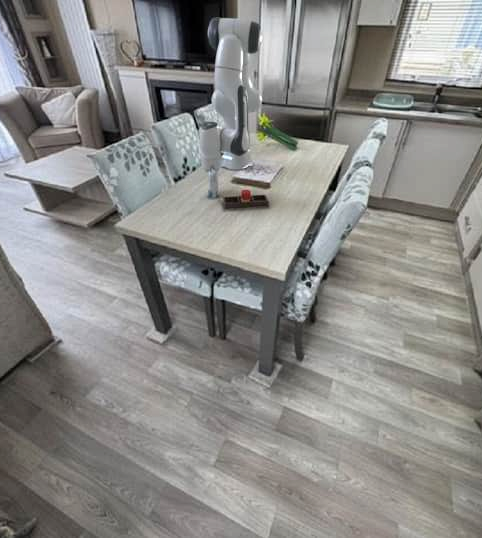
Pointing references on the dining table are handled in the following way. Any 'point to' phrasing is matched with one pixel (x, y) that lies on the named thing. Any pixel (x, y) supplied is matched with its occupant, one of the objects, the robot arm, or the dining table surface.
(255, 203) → the token board
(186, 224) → the dining table surface
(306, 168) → the dining table surface
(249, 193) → the red token
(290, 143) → the daffodil flowers
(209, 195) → the slate token
